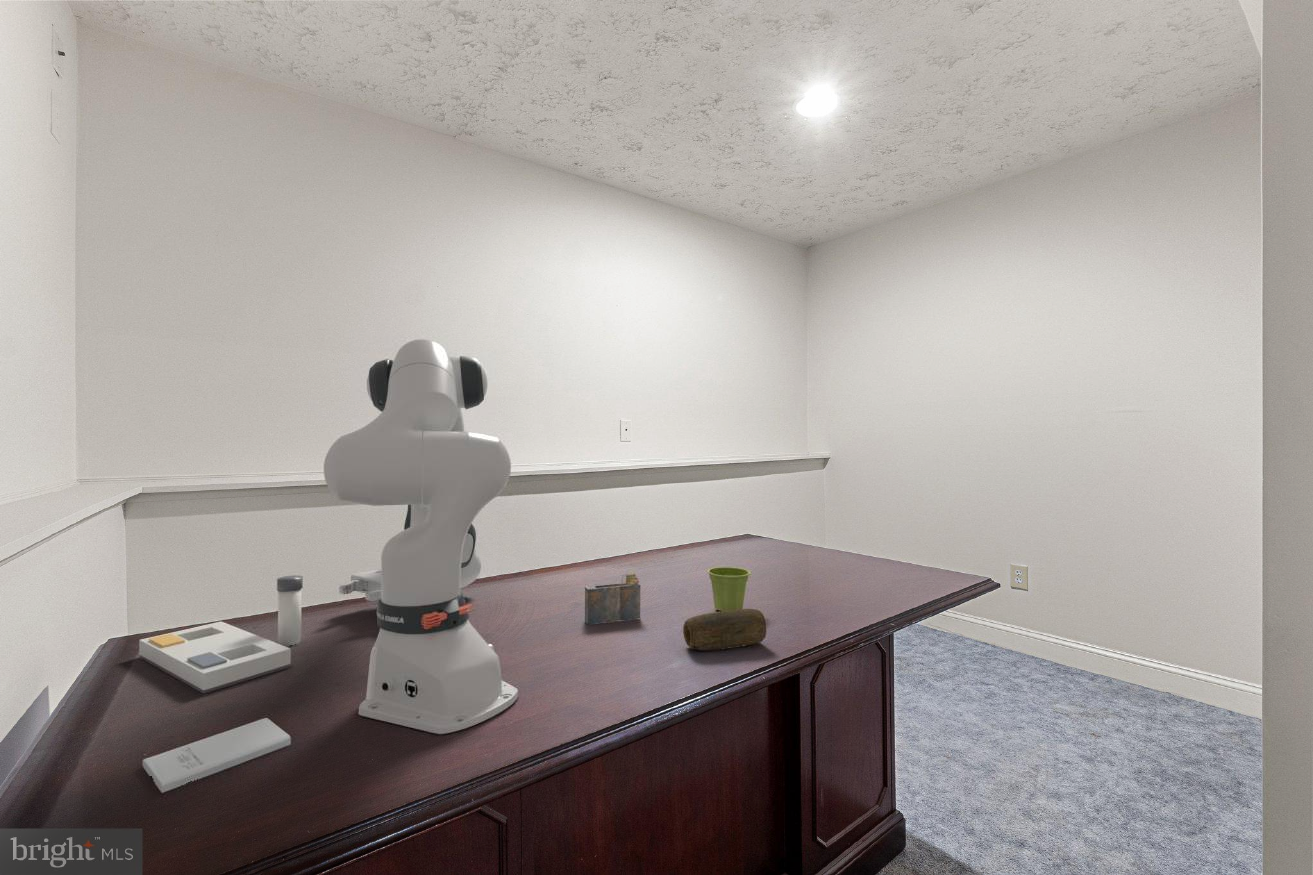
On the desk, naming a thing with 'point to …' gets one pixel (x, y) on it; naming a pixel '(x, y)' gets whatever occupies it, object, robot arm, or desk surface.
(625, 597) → the rusty metal tin
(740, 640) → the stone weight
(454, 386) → the robot arm
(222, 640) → the socket board
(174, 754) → the external hard drive
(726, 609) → the plant pot
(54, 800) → the desk surface
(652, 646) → the desk surface
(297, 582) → the grey capped white cylinder
